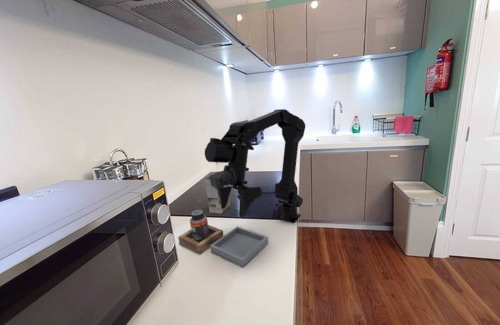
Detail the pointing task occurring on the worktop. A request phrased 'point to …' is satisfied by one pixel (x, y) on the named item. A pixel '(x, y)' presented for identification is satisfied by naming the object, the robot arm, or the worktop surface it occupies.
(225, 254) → the grey tray
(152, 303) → the worktop surface
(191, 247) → the walnut holder
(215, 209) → the coffee box
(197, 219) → the supplement bottle
